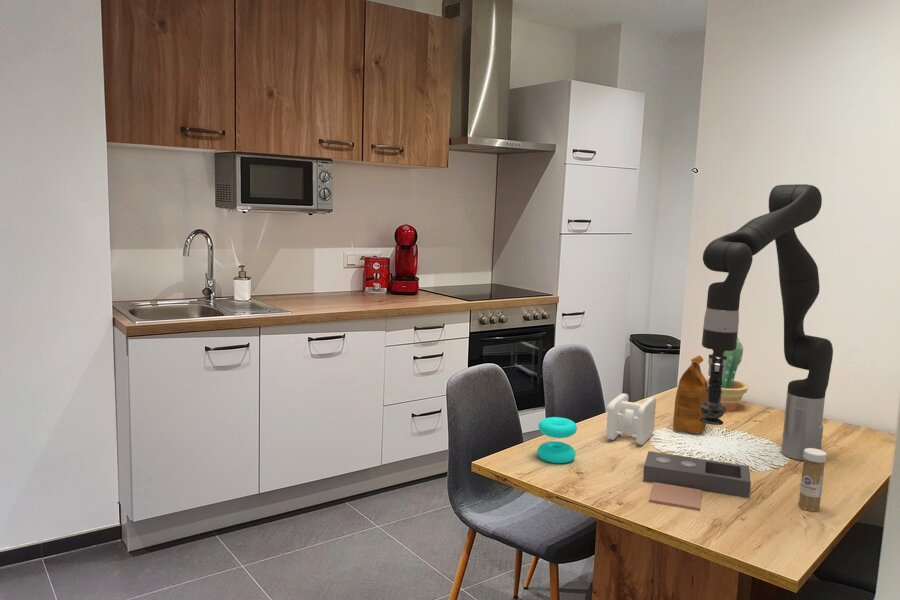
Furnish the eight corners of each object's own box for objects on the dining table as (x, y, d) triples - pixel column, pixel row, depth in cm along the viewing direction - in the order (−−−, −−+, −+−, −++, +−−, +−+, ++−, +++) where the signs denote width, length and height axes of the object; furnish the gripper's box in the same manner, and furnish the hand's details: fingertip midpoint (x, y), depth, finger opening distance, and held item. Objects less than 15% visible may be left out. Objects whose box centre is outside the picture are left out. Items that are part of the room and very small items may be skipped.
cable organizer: (640, 449, 197) (643, 408, 195) (603, 442, 202) (606, 402, 200) (654, 434, 210) (657, 396, 208) (619, 428, 215) (621, 390, 213)
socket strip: (747, 481, 176) (749, 465, 176) (749, 498, 166) (750, 481, 165) (647, 465, 184) (648, 450, 184) (643, 481, 174) (644, 464, 174)
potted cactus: (754, 407, 241) (760, 334, 238) (735, 416, 230) (742, 340, 226) (709, 397, 252) (715, 328, 248) (690, 406, 240) (696, 333, 237)
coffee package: (711, 426, 219) (717, 356, 216) (702, 437, 208) (708, 364, 205) (678, 420, 224) (684, 352, 221) (668, 431, 213) (673, 359, 210)
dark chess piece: (726, 426, 164) (732, 375, 163) (700, 423, 166) (705, 373, 164) (722, 419, 170) (727, 370, 169) (696, 416, 171) (701, 367, 170)
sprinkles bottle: (795, 507, 162) (801, 450, 160) (801, 501, 165) (806, 445, 163) (817, 513, 159) (823, 456, 157) (822, 507, 162) (828, 450, 160)
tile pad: (701, 492, 169) (701, 489, 169) (699, 510, 158) (700, 508, 158) (653, 484, 172) (653, 482, 172) (648, 501, 162) (648, 499, 162)
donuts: (532, 422, 185) (548, 413, 194) (530, 459, 187) (547, 448, 195) (567, 430, 180) (583, 420, 188) (565, 468, 181) (581, 456, 190)
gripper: (738, 334, 157) (731, 410, 159) (737, 325, 170) (730, 395, 172) (702, 330, 160) (695, 405, 162) (704, 322, 173) (697, 391, 175)
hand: (713, 400), depth 167 cm, fingers closed on dark chess piece, 3 cm apart
